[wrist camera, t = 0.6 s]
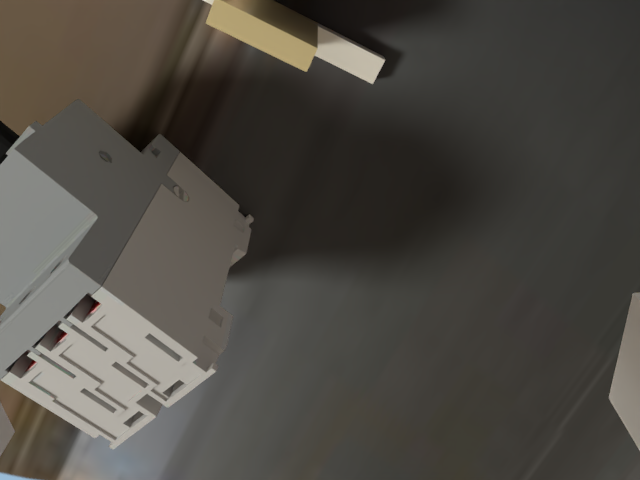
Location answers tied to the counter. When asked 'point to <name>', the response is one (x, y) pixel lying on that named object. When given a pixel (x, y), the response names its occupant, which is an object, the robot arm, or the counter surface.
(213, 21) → the fuse holder
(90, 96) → the counter surface
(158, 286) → the circuit breaker
